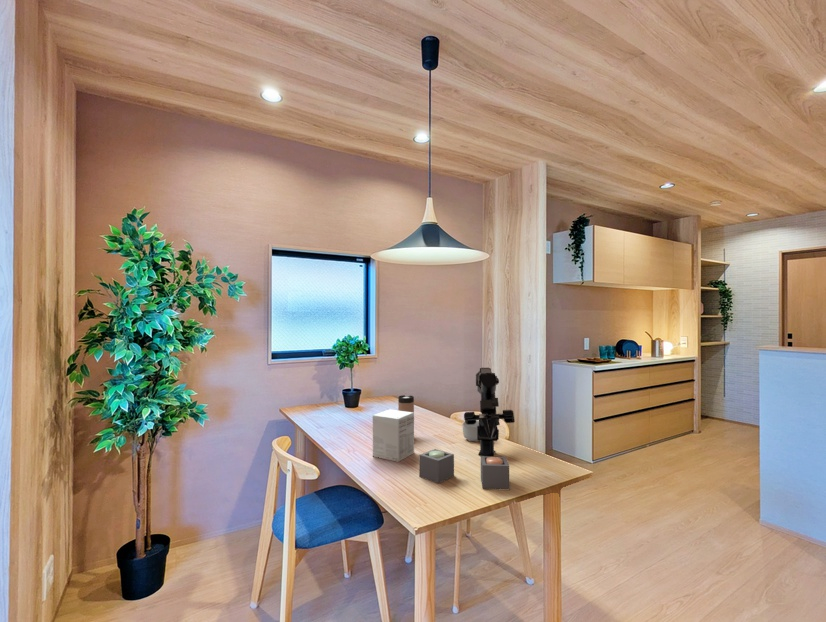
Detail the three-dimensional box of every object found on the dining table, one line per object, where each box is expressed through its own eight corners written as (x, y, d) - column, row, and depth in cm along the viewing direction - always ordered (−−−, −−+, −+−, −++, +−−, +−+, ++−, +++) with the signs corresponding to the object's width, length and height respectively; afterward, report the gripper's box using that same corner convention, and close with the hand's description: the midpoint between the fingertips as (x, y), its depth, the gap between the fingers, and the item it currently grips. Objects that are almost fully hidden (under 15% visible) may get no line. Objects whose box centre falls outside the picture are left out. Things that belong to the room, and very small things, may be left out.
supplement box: (415, 452, 176) (414, 412, 176) (398, 462, 164) (398, 418, 165) (389, 448, 183) (389, 408, 183) (371, 456, 171) (371, 414, 171)
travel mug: (404, 441, 192) (404, 398, 192) (395, 437, 198) (395, 396, 198) (417, 438, 196) (417, 396, 196) (408, 434, 202) (407, 394, 203)
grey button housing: (435, 469, 156) (435, 448, 156) (454, 476, 150) (453, 454, 150) (419, 476, 150) (419, 454, 150) (438, 483, 143) (438, 460, 143)
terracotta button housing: (480, 478, 148) (480, 456, 148) (506, 479, 147) (505, 456, 147) (482, 488, 139) (482, 465, 139) (509, 489, 138) (509, 466, 138)
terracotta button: (485, 465, 146) (485, 456, 146) (501, 465, 145) (501, 457, 145) (487, 471, 140) (487, 462, 140) (503, 471, 140) (503, 462, 140)
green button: (435, 457, 154) (435, 449, 154) (447, 461, 150) (447, 453, 150) (425, 461, 150) (425, 453, 150) (437, 465, 146) (437, 456, 146)
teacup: (480, 444, 187) (480, 427, 187) (458, 441, 192) (458, 424, 192) (490, 436, 199) (490, 420, 199) (469, 433, 204) (469, 417, 204)
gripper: (461, 391, 158) (461, 429, 148) (510, 388, 154) (514, 427, 144) (466, 405, 166) (466, 442, 156) (513, 403, 162) (516, 441, 151)
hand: (490, 438), depth 152 cm, fingers closed
